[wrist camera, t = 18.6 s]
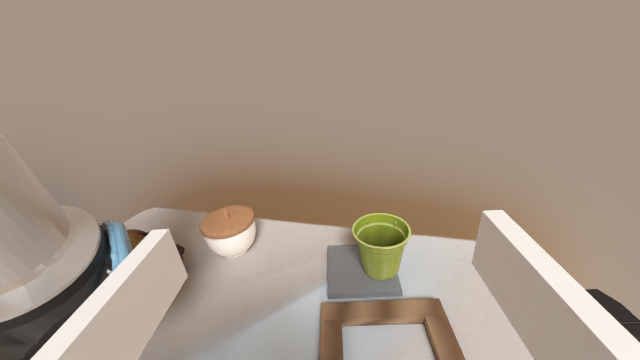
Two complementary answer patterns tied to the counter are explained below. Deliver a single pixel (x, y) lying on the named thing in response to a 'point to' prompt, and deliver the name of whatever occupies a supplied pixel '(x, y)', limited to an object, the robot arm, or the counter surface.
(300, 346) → the counter surface
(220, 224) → the lidded jar
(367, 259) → the plant pot
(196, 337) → the counter surface
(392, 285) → the charcoal mat
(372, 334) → the counter surface
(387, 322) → the walnut frame
